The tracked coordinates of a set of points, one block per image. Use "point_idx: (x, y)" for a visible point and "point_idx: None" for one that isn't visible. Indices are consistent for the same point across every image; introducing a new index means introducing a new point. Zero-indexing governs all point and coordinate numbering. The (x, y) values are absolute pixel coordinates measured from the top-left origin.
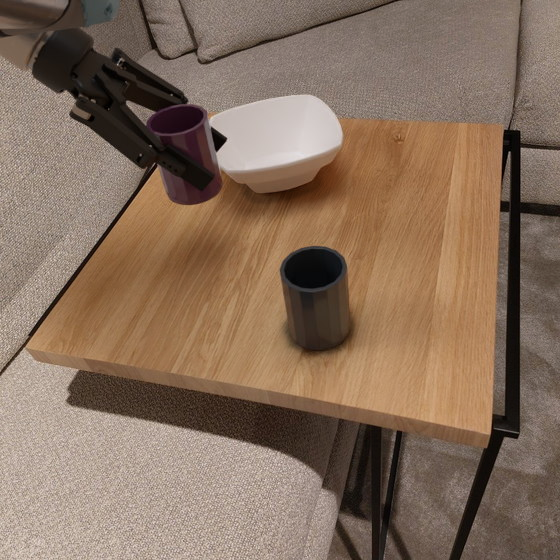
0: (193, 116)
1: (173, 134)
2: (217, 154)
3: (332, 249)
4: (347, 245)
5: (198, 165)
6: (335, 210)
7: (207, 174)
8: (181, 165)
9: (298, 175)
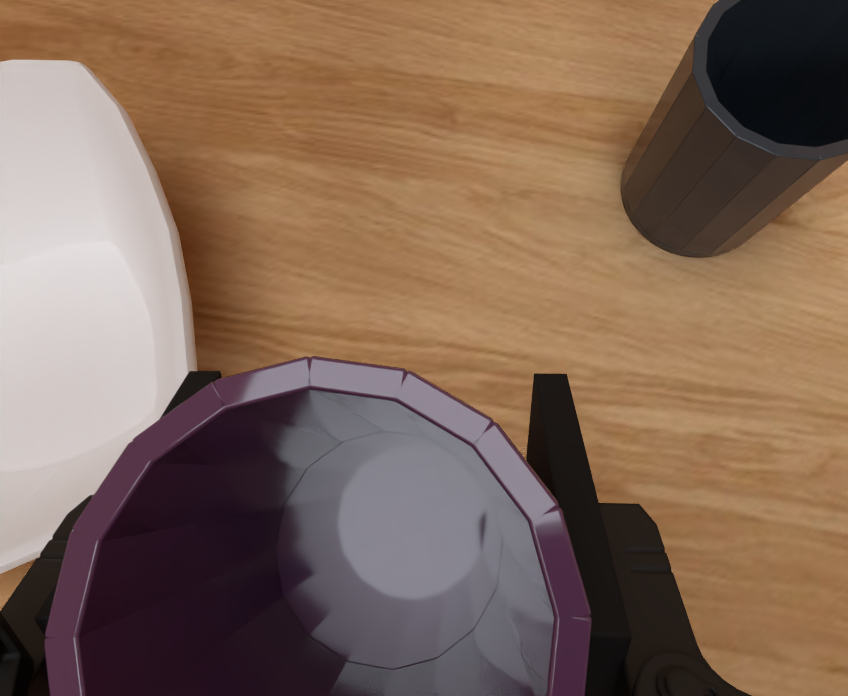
0: (151, 531)
1: (574, 596)
2: (35, 530)
3: (707, 16)
4: (401, 143)
5: (564, 440)
6: (252, 180)
7: (571, 399)
8: (631, 529)
9: (140, 251)
